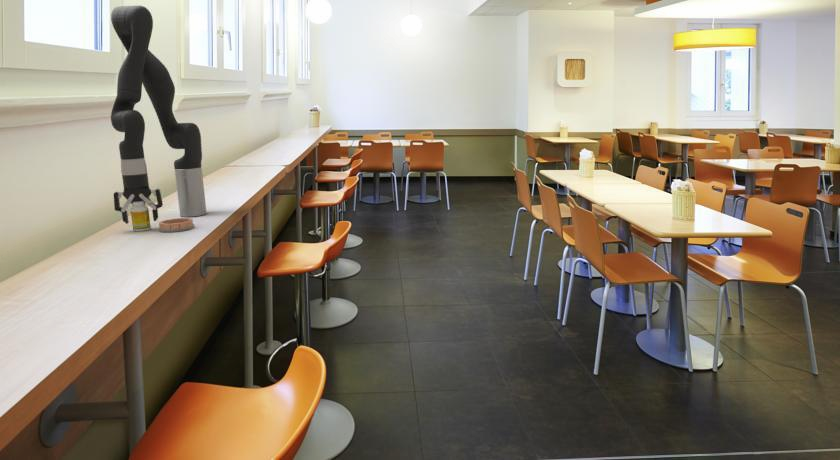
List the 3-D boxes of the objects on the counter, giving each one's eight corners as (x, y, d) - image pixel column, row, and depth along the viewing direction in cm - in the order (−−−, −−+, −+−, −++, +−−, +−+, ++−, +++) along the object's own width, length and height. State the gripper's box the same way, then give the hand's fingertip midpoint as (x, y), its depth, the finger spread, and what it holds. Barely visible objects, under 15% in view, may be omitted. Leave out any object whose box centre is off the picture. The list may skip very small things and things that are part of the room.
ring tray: (160, 227, 208) (159, 219, 208) (195, 224, 211) (194, 216, 211) (157, 233, 198) (156, 225, 198) (193, 230, 201) (192, 222, 201)
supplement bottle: (133, 229, 207) (130, 200, 205) (151, 227, 209) (147, 199, 207) (132, 232, 202) (128, 203, 200) (150, 230, 204) (146, 201, 202)
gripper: (159, 170, 207) (165, 218, 210) (112, 173, 203) (119, 221, 206) (157, 172, 200) (163, 222, 203) (108, 175, 196) (115, 226, 199)
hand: (141, 221), depth 205 cm, fingers open, 8 cm apart
